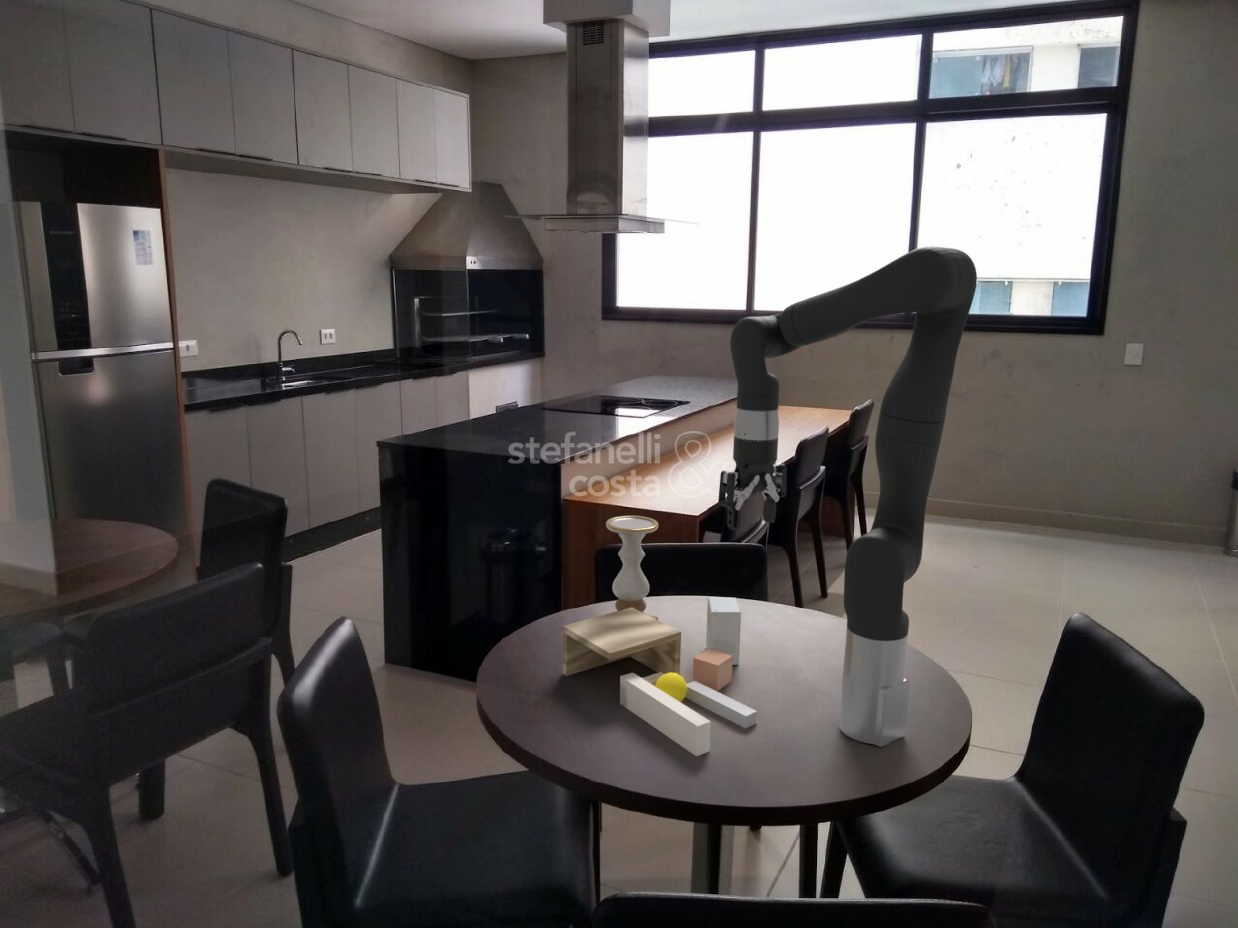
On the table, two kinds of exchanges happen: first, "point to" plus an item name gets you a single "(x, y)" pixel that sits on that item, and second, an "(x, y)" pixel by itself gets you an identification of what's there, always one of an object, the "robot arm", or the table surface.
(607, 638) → the cubby
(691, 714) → the white bar
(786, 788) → the table surface
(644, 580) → the candle holder
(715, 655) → the terracotta block
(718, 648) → the small box
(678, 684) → the lemon
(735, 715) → the grey stick
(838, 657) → the table surface
